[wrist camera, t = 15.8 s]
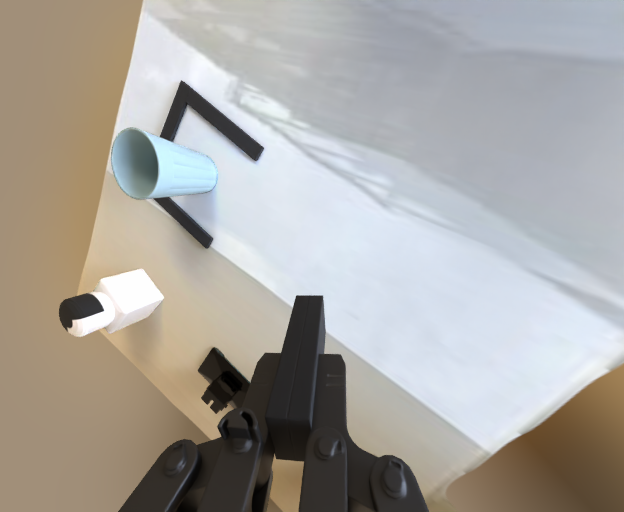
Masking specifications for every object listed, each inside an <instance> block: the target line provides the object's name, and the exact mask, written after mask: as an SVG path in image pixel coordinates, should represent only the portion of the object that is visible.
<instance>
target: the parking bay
mask: <svg viewBox="0 0 624 512" xmlns="http://www.w3.org/2000/svg"><path fill="white" fill-rule="evenodd" d="M187 104H188V105H190V106H191V107H192V108H193V109H194V110H196V111H197V112H198V113H199V114H200V115H201V116H203V117H204V118H205V119H206V120H207V121H209V122H210V123H211V124H212V125H213V126H215V127H216V128H217V129H218V130H219V131H220V132H222V133H223V134H224V135H225V136H226V137H228V138H229V139H230V140H231V141H232V142H234V143H235V144H236V145H237V146H238V147H239V148H241V149H242V150H243V151H244V152H245V153H247V154H248V155H249V156H250V157H251V158H252V159H254V160H255V161H257V160H258V158H259V156H260V154H261V153H262V151H263V149H264V148H263V147H262V146H261V145H260V144H258V143H257V142H256V141H255V140H254V139H252V138H251V137H250V136H249V135H248V134H246V133H245V132H244V131H243V130H242V129H240V128H239V127H238V126H237V125H235V124H234V123H233V122H232V121H231V120H229V119H228V118H227V117H226V116H225V115H223V114H222V113H221V112H220V111H219V110H217V109H216V108H215V107H214V106H213V105H211V104H210V103H209V102H208V101H206V100H205V99H204V98H203V97H202V96H200V95H199V94H198V93H197V92H196V91H194V90H193V89H192V88H191V87H190V86H188V85H187V84H186V83H185V82H183V81H181V82H180V85H179V87H178V90H177V93H176V95H175V98H174V101H173V103H172V106H171V109H170V111H169V114H168V117H167V119H166V122H165V124H164V127H163V130H162V132H161V135H160V138H163V139H166V140H168V141H171V142H172V141H173V139H174V136H175V134H176V131H177V129H178V126H179V124H180V121H181V119H182V116H183V114H184V111H185V109H186V106H187ZM153 199H154V200H155V201H157V202H158V203H159V204H160V205H161V206H162V207H163V208H164V209H165V210H166V211H167V212H168V213H169V214H170V215H171V216H172V217H173V218H174V219H175V220H177V221H178V222H179V223H180V224H181V225H182V226H183V227H184V228H185V229H186V230H187V231H188V232H189V233H190V234H191V235H192V236H193V237H194V238H195V239H197V240H198V241H199V242H200V243H201V244H202V245H203V246H204V247H205V248H208V247H209V245H210V244H211V242H212V240H213V238H212V237H211V236H210V235H209V234H208V233H207V232H206V231H204V230H203V229H202V228H201V227H200V226H199V225H198V224H197V223H196V222H195V221H194V220H193V219H192V218H191V217H190V216H188V215H187V214H186V213H185V212H184V211H183V210H182V209H181V208H180V207H179V206H178V205H177V204H176V203H175V202H174V201H172V200H171V199H170V198H169V197H161V198H153Z"/></svg>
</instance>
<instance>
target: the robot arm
mask: <svg viewBox="0 0 624 512" xmlns="http://www.w3.org/2000/svg"><path fill="white" fill-rule="evenodd" d="M325 333H326V332H325V317H324V303H323V296H296V299H295V302H294V306H293V310H292V314H291V318H290V322H289V325H288V329H287V333H286V337H285V341H284V344H283V348H282V352H281V353H265V354H264V355H263V356H262V357H261V359H260V360H259V361H258V362H257V365H256V368H255V371H254V375H253V377H252V380H251V384H250V385H249V388H248V391H247V394H246V397H245V399H244V402H243V405H242V407H241V408H236V409H234V410H232V411H230V412H228V413H227V414H226V415H225V416H224V417H223V418H222V419H221V421H220V422H219V424H218V426H217V427H218V429H219V432H220V434H221V436H222V437H220V438H217V439H215V440H212V441H208V442H205V443H202V444H199V445H196V444H195V443H194V442H192V441H191V440H186V439H183V440H180V441H177V442H175V443H173V444H172V445H170V446H169V447H168V448H167V449H166V450H165V451H164V452H163V453H162V454H161V455H160V456H159V458H158V459H157V461H156V462H155V463H154V465H153V466H152V467H151V469H150V470H149V471H148V473H147V474H146V475H145V477H144V478H143V479H142V481H141V482H140V483H139V485H138V486H137V487H136V489H135V490H134V491H133V493H132V494H131V495H130V497H129V498H128V499H127V501H126V502H125V503H124V505H123V506H122V507H121V509H120V510H119V511H118V512H266V511H267V505H268V501H269V495H270V490H271V485H272V479H273V471H272V468H271V467H272V462H273V458H274V453H275V456H276V459H282V460H293V461H304V468H303V477H302V486H301V495H300V504H299V512H429V510H428V508H427V505H426V503H425V500H424V498H423V495H422V493H421V490H420V488H419V485H418V483H417V481H416V478H415V476H414V474H413V473H412V471H411V469H410V467H409V466H408V465H407V464H406V463H405V462H404V461H403V460H401V459H399V458H397V457H395V456H393V455H384V456H382V457H379V458H378V457H376V456H374V455H372V454H370V453H368V452H366V451H364V450H362V449H361V448H359V447H358V446H357V445H356V444H355V443H354V442H353V441H352V439H351V438H350V436H349V433H348V431H347V420H346V366H345V362H344V360H343V358H342V356H341V355H339V354H324V346H325Z"/></svg>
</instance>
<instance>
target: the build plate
mask: <svg viewBox="0 0 624 512" xmlns="http://www.w3.org/2000/svg"><path fill="white" fill-rule="evenodd" d="M198 372H199V373H200V374H201V375H202V376H203V377H204V378H205V379H206V380H207V381H208V382H209V383H210V385H209V386H208V387H207V390H206V391H205V392H204V395H203V396H202V397H201V399H202V400H203V401H204V402H205V403H206V404H207V405H208V404H209V403H210V401H211V400H213V401H214V402H213V404H212V405H211V406H210V408H211V409H212V410H213V411H214V412H215V413H216V414H217V413H218V412H219V411H220V410H221V411H222V410H223V409H224V407H225V408H226V407H227V406H228V405H227V404H228V403H229V404H230V405H231V406H232V407H233V408H234V409H236V408H241V407H242V405H243V402H244V399H245V397H246V394H247V391H248V388H249V385H250V384H251V383H250V382H249V381H248V380H247V379H246V378H245V377H244V376H243V375H242V374H241V373H240V372H239V371H238V370H237V369H236V368H235V367H234V366H233V365H232V364H231V363H230V362H229V361H228V360H227V359H226V358H225V357H224V355H223V354H222V353H221V352H220V351H219V350H218V349H217V348H215V347H214V348H212V350H211V351H210V353H209V354H208V356H207V357H206V359H205V360H204V362H203V363H202V365H201V366H200V368H199V369H198Z"/></svg>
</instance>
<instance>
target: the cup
mask: <svg viewBox="0 0 624 512" xmlns="http://www.w3.org/2000/svg"><path fill="white" fill-rule="evenodd" d="M111 164H112V170H113V173H114V176H115V179H116V181H117V183H118V185H119V186H120V188H121V189H122V190H123V191H124V192H125V193H126V194H127V195H128V196H130V197H131V198H134V199H138V200H142V199H152V198H161V197H171V196H180V195H190V194H200V193H206V192H209V191H211V190H212V189H213V188H214V186H215V185H216V182H217V168H216V166H215V164H214V162H213V160H212V159H210V158H209V157H208V156H206V155H204V154H201V153H199V152H196V151H194V150H191V149H189V148H186V147H184V146H181V145H178V144H176V143H173V142H171V141H168V140H166V139H163V138H160V137H158V136H155V135H153V134H150V133H148V132H145V131H143V130H140V129H138V128H133V127H131V128H126V129H124V130H122V131H121V132H120V133H119V134H118V135H117V137H116V139H115V141H114V143H113V147H112V152H111Z"/></svg>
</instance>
